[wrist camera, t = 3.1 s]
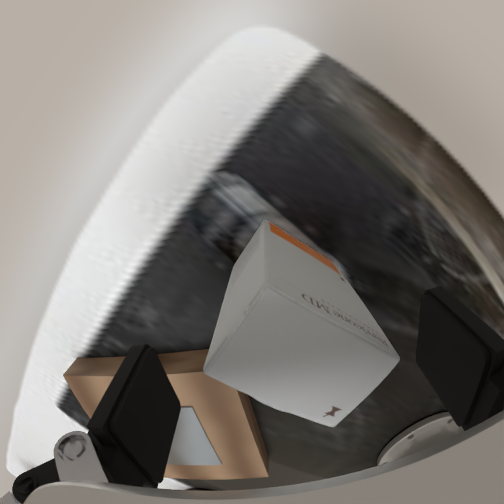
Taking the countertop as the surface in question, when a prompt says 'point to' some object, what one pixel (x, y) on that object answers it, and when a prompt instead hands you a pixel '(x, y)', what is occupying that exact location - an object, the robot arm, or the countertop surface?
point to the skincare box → (296, 332)
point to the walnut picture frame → (190, 417)
